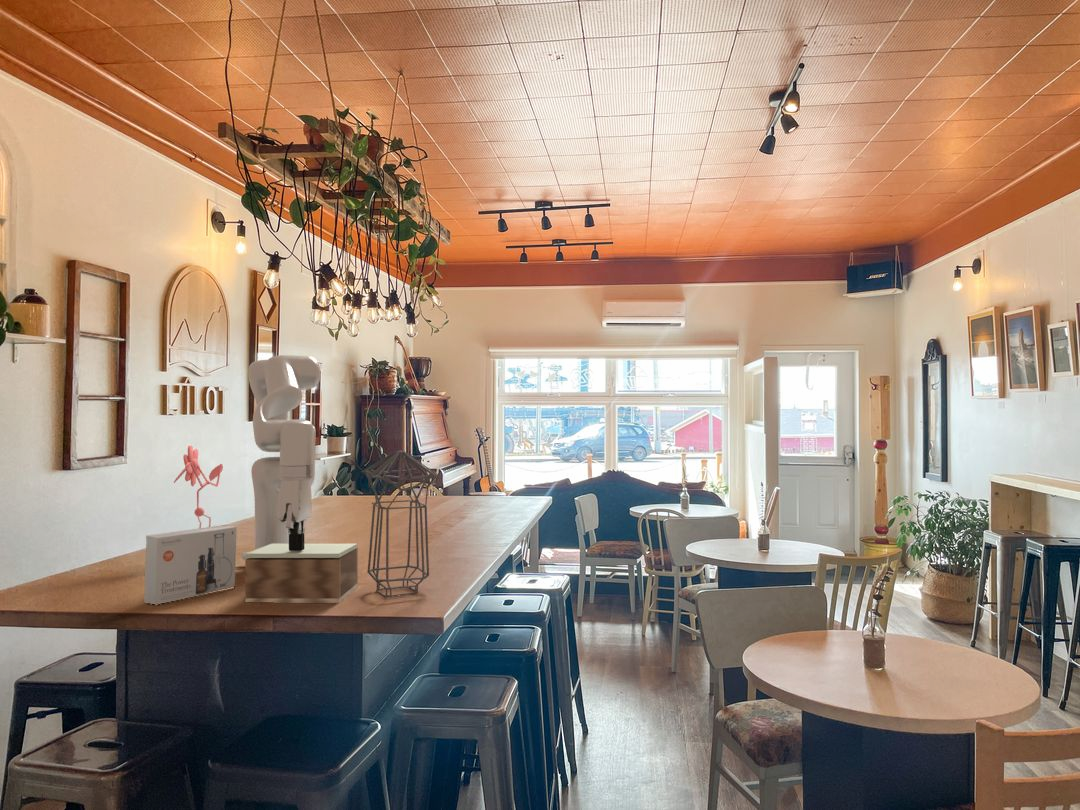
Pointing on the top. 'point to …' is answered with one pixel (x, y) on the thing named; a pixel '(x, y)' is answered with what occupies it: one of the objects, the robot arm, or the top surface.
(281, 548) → the lid
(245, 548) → the top surface
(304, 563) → the walnut box
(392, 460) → the geometric lantern
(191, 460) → the figurine
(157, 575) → the skincare box
